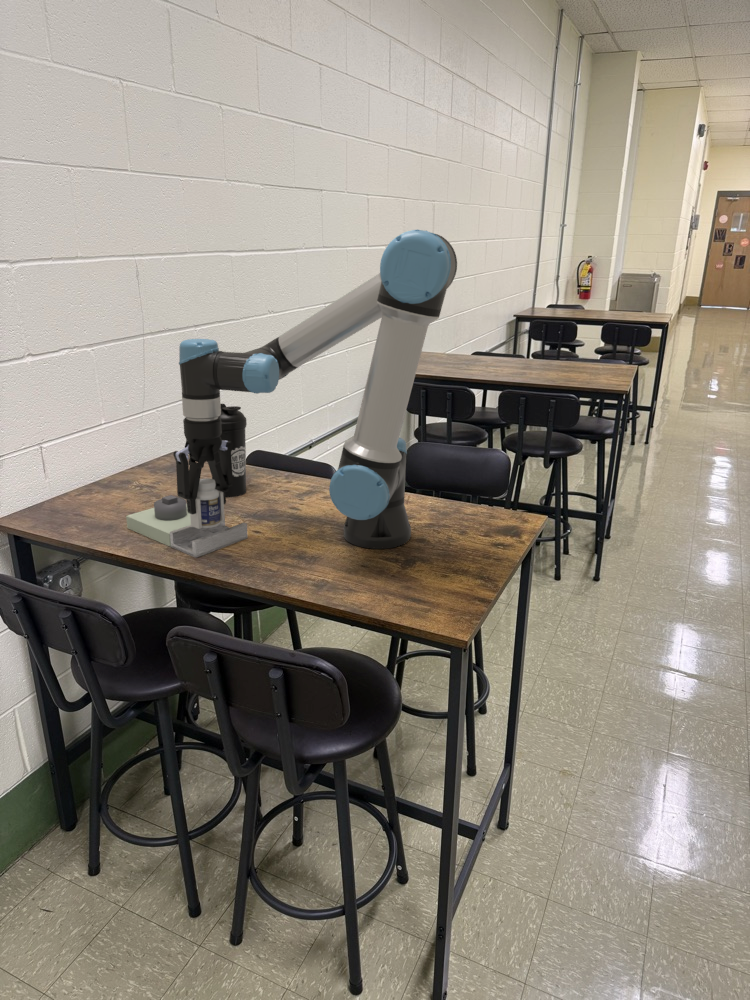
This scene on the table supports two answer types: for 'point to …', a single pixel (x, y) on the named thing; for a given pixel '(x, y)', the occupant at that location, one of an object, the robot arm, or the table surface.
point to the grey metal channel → (206, 538)
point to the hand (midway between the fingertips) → (207, 522)
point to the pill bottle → (209, 503)
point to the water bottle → (235, 446)
